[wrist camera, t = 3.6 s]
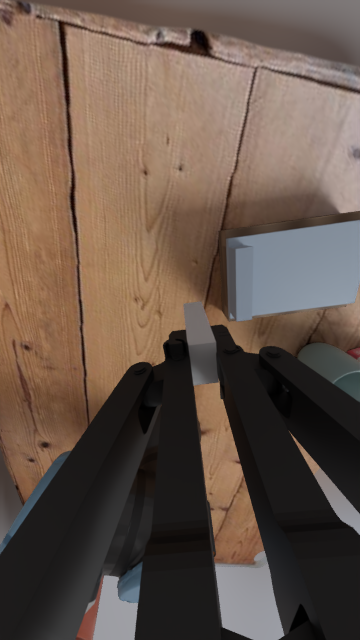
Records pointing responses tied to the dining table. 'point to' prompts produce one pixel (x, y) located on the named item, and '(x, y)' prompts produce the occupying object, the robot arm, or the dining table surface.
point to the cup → (333, 366)
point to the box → (267, 229)
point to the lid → (293, 269)
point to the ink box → (355, 353)
